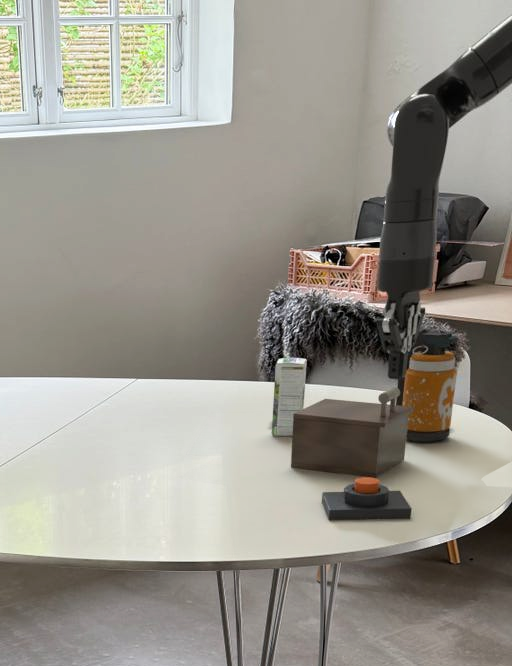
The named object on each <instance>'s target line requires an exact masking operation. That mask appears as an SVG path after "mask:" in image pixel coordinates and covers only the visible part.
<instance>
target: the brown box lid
mask: <svg viewBox="0 0 512 666" xmlns="http://www.w3.org/2000/svg"><path fill="white" fill-rule="evenodd" d="M399 395H400V390H399V389H398V388H397V386H393V387H391V388H390V389H387V390H386V391H384V392H382V393H380V394H379V395H378V402H379V403H376V402H365V401H353V400H352V401H351V400H344V399H333V398H324V399H321V400H320V401H317V402H315V403H313V404H311V405H309V406H307V407H305V408H303V409H302V410H300V411H298V412H296V413H294V414H293V418H298V419H308V420H317V421H326V422H336V423H345V424H354V425H364V426H373V427H382V428H385V427H387V426H389V425H390V424H392V423H394V422H396V421H397V420H399V419H401V418H403V417H405V416H406V415H408V414H410V413H412V412H413V411H414V407H410V406H399V405H396V398H397V397H398V396H399ZM389 402H390V404H387V403H389Z"/></svg>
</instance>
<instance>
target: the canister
mask: <svg viewBox="0 0 512 666" xmlns="http://www.w3.org/2000/svg"><path fill="white" fill-rule="evenodd" d="M458 339H459V337H458V336H456V335H453V332H449V331H448V332H447V331H446V332H433V331H432V332H430V331H428V330H426V329H422V330H419V333H418V336H417V339H416V342H415V344H414V345H411V349H410V351H407V352H408V358H407V370H406V376H405V377H403V378H401V379H397V385H396V388H398V389H399V390H400V395H399V396H398V397H397V398H396V404H395V405H399V406H410V407H414V411H413V412H412V413H410V414H409V418H408V427H407V437H406V440H407V441H410V442H415V443H434V442H440V441H441V440H443V439H444V440H445V439H447V438H449V436H450V433H451V425H452V414H453V407H454V401H455V400H454V399H455V390H456V384H457V374H458V371H457V370H456V369H455V364H456V357H455V354H454V353H453V352H451V351H448V350H446V349H445V348H448V347H450V346H451V344H453V343H456V342H458Z"/></svg>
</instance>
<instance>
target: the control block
mask: <svg viewBox="0 0 512 666" xmlns="http://www.w3.org/2000/svg"><path fill="white" fill-rule="evenodd" d="M354 487H355V483H351V484H348V485H346V486H344V488H343V491H322V493H321V504H322V506H323V509H324V512H325V514H326V517H327V520H328V521H363V520H365V521H366V520H367V521H369V520H372V521H373V520H374V521H375V520H410V519H411V517H412V507H411V505H410V504H409V503H408V501H407V499H406V498H405V496H404V494H403V492H402V491H401V490H390V489H389V487H388V486H386V485H383V484H381V483H379V492H375V493H359V492H356V491H354Z"/></svg>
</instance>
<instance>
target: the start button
mask: <svg viewBox="0 0 512 666" xmlns="http://www.w3.org/2000/svg"><path fill="white" fill-rule="evenodd" d="M354 484H355V487H354V491H356V492H359V493H375V492H379V484H380V479H378V478H371V477H362V476H361V477H357V478H355V480H354Z"/></svg>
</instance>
